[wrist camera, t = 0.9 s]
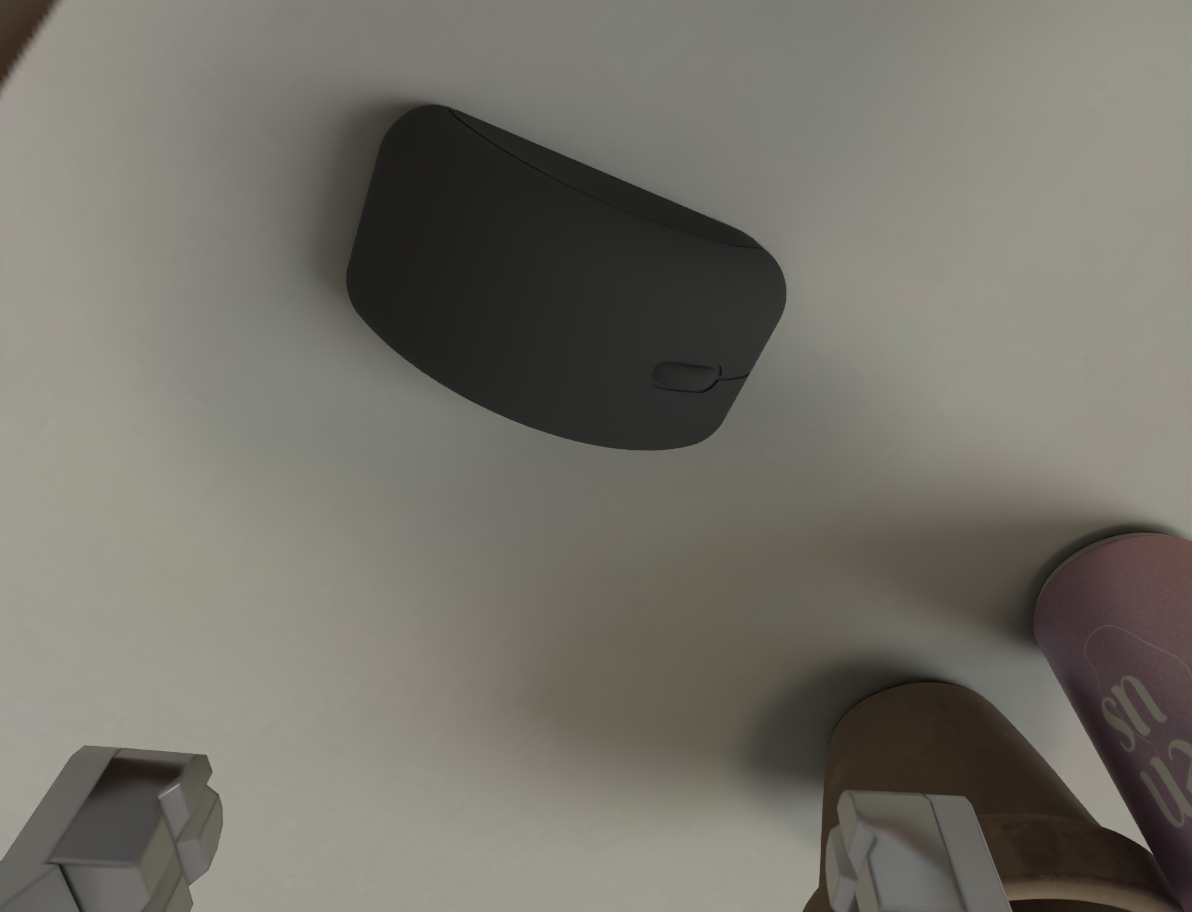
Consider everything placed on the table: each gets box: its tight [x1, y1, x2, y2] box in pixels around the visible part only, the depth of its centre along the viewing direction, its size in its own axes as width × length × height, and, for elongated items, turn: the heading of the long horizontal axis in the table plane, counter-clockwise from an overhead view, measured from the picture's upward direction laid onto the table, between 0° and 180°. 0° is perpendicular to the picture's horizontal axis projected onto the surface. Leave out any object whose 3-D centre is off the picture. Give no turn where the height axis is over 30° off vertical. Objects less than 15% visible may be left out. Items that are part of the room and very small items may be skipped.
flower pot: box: [803, 682, 1184, 912], centre depth 29 cm, size 12×11×10 cm
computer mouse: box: [346, 105, 786, 450], centre depth 23 cm, size 6×11×4 cm, turn 68°
